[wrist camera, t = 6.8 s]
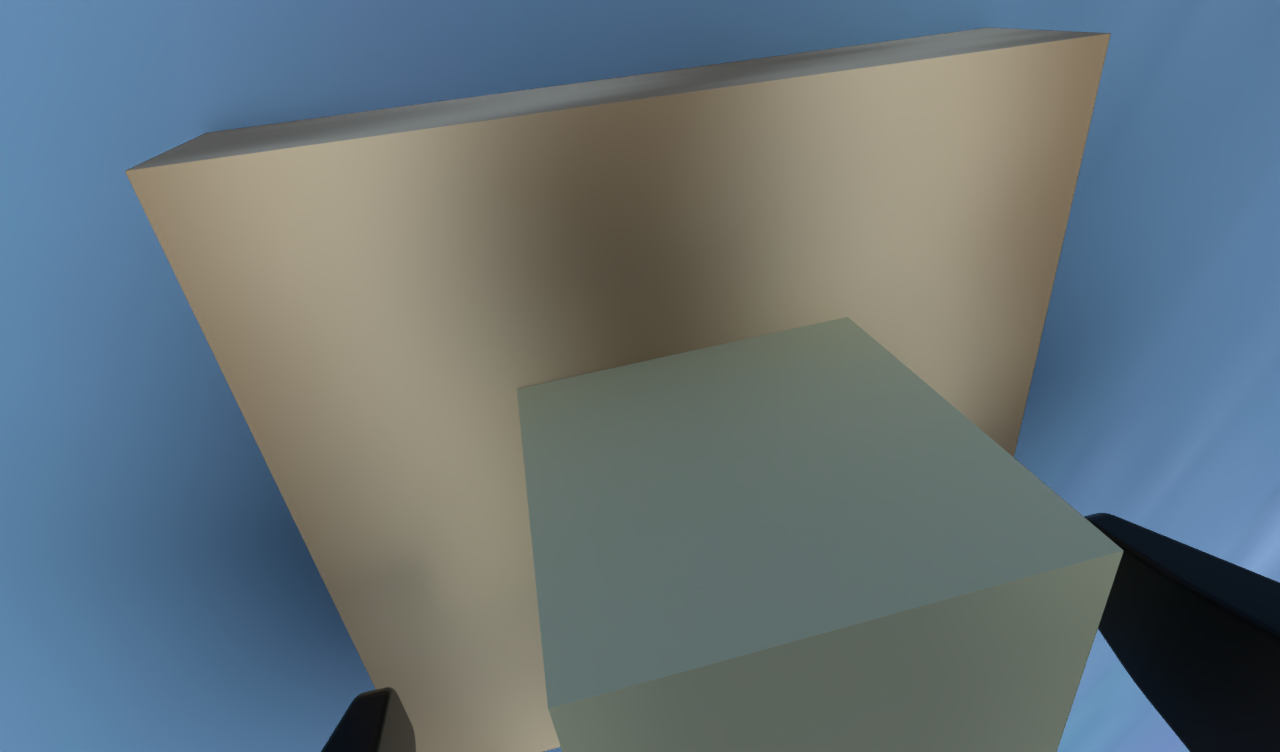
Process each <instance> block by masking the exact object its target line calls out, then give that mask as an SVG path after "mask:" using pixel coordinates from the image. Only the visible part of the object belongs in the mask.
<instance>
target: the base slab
mask: <svg viewBox="0 0 1280 752" xmlns="http://www.w3.org/2000/svg"><path fill="white" fill-rule="evenodd" d="M1110 34H1111V33H1092V32H1071V31H1050V30H1029V29H1008V28H981V29H974V30H966V31H959V32H952V33H944V34H937V35H929V36H922V37H915V38H907V39H900V40H892V41H885V42H877V43H870V44H863V45H855V46H848V47H840V48H833V49H825V50H818V51H811V52H803V53H796V54H788V55H781V56H773V57H766V58H759V59H751V60H744V61H736V62H729V63H721V64H714V65H707V66H699V67H692V68H684V69H677V70H669V71H662V72H655V73H647V74H640V75H632V76H625V77H617V78H610V79H603V80H595V81H588V82H580V83H573V84H565V85H558V86H551V87H543V88H536V89H528V90H521V91H514V92H506V93H499V94H491V95H484V96H476V97H469V98H462V99H454V100H447V101H439V102H432V103H424V104H417V105H410V106H402V107H395V108H387V109H380V110H372V111H365V112H358V113H350V114H343V115H335V116H328V117H320V118H313V119H306V120H298V121H291V122H283V123H276V124H268V125H261V126H254V127H246V128H239V129H231V130H224V131H216V132H209V133H205V134H203V135H200V136H198V137H196V138H194V139H192V140H190V141H188V142H186V143H183V144H181V145H179V146H177V147H175V148H173V149H171V150H169V151H166V152H164V153H162V154H160V155H158V156H156V157H154V158H151V159H149V160H147V161H145V162H143V163H141V164H139V165H137V166H134V167H132V168H130V169H128V170H126V171H125V172H126V174H127V176H128V178H129V180H130V182H131V184H132V187H133V189H134V191H135V193H136V195H137V197H138V199H139V201H140V203H141V205H142V207H143V209H144V211H145V213H146V215H147V218H148V220H149V222H150V224H151V226H152V228H153V230H154V232H155V234H156V236H157V238H158V240H159V242H160V244H161V246H162V249H163V251H164V253H165V255H166V257H167V259H168V261H169V263H170V265H171V267H172V269H173V271H174V273H175V275H176V277H177V280H178V282H179V284H180V286H181V288H182V290H183V292H184V294H185V296H186V298H187V300H188V302H189V304H190V306H191V308H192V311H193V313H194V315H195V317H196V319H197V321H198V323H199V325H200V327H201V329H202V331H203V333H204V335H205V337H206V339H207V342H208V344H209V346H210V348H211V350H212V352H213V354H214V356H215V358H216V360H217V362H218V364H219V366H220V368H221V370H222V373H223V375H224V377H225V379H226V381H227V383H228V385H229V387H230V389H231V391H232V393H233V395H234V397H235V399H236V401H237V403H238V406H239V408H240V410H241V412H242V414H243V416H244V418H245V420H246V422H247V424H248V426H249V428H250V430H251V432H252V434H253V437H254V439H255V441H256V443H257V445H258V447H259V449H260V451H261V453H262V455H263V457H264V459H265V461H266V463H267V465H268V468H269V470H270V472H271V474H272V476H273V478H274V480H275V482H276V484H277V486H278V488H279V490H280V492H281V494H282V496H283V499H284V501H285V503H286V505H287V507H288V509H289V511H290V513H291V515H292V517H293V519H294V521H295V523H296V525H297V527H298V530H299V532H300V534H301V536H302V538H303V540H304V542H305V544H306V546H307V548H308V550H309V552H310V554H311V556H312V558H313V561H314V563H315V565H316V567H317V569H318V571H319V573H320V575H321V577H322V579H323V581H324V583H325V585H326V587H327V589H328V592H329V594H330V596H331V598H332V600H333V602H334V604H335V606H336V608H337V610H338V612H339V614H340V616H341V618H342V620H343V622H344V625H345V627H346V629H347V631H348V633H349V635H350V637H351V639H352V641H353V643H354V645H355V647H356V649H357V651H358V653H359V656H360V658H361V660H362V662H363V664H364V666H365V668H366V670H367V672H368V674H369V676H370V678H371V680H372V682H373V684H374V687H375V689H376V690H377V689H381V688H385V687H391V688H393V689H395V691H396V692H397V694H398V696H399V698H400V700H401V702H402V704H403V706H404V708H405V711H406V713H407V715H408V717H409V719H410V721H411V723H412V726H413V729H414V733H415V741H416V752H543V751H547V750H550V749H554V748H558V747H561V746H560V743H559V740H558V737H557V734H556V731H555V728H554V725H553V722H552V719H551V716H550V713H549V710H548V702H547V692H546V682H545V672H544V661H543V651H542V641H541V631H540V621H539V610H538V600H537V590H536V580H535V570H534V559H533V549H532V539H531V529H530V518H529V508H528V498H527V488H526V478H525V467H524V457H523V447H522V437H521V427H520V416H519V406H518V396H517V389H519V388H523V387H528V386H532V385H537V384H542V383H546V382H551V381H555V380H560V379H564V378H569V377H574V376H578V375H583V374H587V373H592V372H597V371H601V370H606V369H610V368H615V367H620V366H624V365H629V364H633V363H638V362H643V361H647V360H652V359H656V358H661V357H665V356H670V355H675V354H679V353H684V352H688V351H693V350H698V349H702V348H707V347H711V346H716V345H721V344H725V343H730V342H734V341H739V340H743V339H748V338H753V337H757V336H762V335H766V334H771V333H776V332H780V331H785V330H790V329H794V328H799V327H804V326H808V325H813V324H817V323H822V322H827V321H831V320H836V319H841V318H845V317H849V318H850V319H851V320H852V321H853V322H854V323H856V324H857V325H858V326H859V327H860V328H862V329H863V330H864V331H865V332H866V333H867V334H869V335H870V336H871V337H872V338H873V339H875V340H876V341H877V342H878V343H879V344H880V345H882V346H883V347H884V348H885V349H886V350H887V351H889V352H890V353H891V354H892V355H893V356H895V357H896V358H897V359H898V360H899V361H900V362H902V363H903V364H904V365H905V366H906V367H908V368H909V369H910V370H911V371H912V372H913V373H915V374H916V375H917V376H918V377H919V378H921V379H922V380H923V381H924V382H925V383H926V384H928V385H929V386H930V387H931V388H932V389H934V390H935V391H936V392H937V393H938V394H939V395H941V396H942V397H943V398H944V399H945V400H947V401H948V402H949V403H950V404H951V405H952V406H954V407H955V408H956V409H957V410H958V411H959V412H961V413H962V414H963V415H964V416H965V417H967V418H968V419H969V420H970V421H971V422H972V423H974V424H975V425H976V426H977V427H978V428H980V429H981V430H982V431H983V432H984V433H985V434H987V435H988V436H989V437H990V438H991V439H993V440H994V441H995V442H996V443H997V444H998V445H1000V446H1001V447H1002V448H1003V449H1004V450H1006V451H1007V452H1008V453H1009V454H1010V455H1011V456H1013V457H1014V454H1015V450H1016V445H1017V441H1018V437H1019V432H1020V428H1021V424H1022V419H1023V415H1024V410H1025V406H1026V402H1027V397H1028V393H1029V389H1030V384H1031V380H1032V375H1033V371H1034V367H1035V362H1036V358H1037V354H1038V349H1039V345H1040V340H1041V336H1042V332H1043V327H1044V323H1045V319H1046V314H1047V310H1048V305H1049V301H1050V297H1051V292H1052V288H1053V284H1054V279H1055V275H1056V270H1057V266H1058V262H1059V257H1060V253H1061V249H1062V244H1063V240H1064V235H1065V231H1066V227H1067V222H1068V218H1069V214H1070V209H1071V205H1072V200H1073V196H1074V192H1075V187H1076V183H1077V179H1078V174H1079V170H1080V165H1081V161H1082V157H1083V152H1084V148H1085V144H1086V139H1087V135H1088V130H1089V126H1090V122H1091V117H1092V113H1093V109H1094V104H1095V100H1096V95H1097V91H1098V87H1099V82H1100V78H1101V74H1102V69H1103V65H1104V60H1105V56H1106V52H1107V47H1108V43H1109V39H1110Z"/></svg>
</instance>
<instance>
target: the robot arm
mask: <svg viewBox="0 0 1280 752" xmlns="http://www.w3.org/2000/svg"><path fill="white" fill-rule="evenodd" d="M1084 517H1085V518H1086V519H1087V520H1088V521H1089V522H1090V523H1092V524H1093V525H1094V526H1095V527H1096V528H1098V529H1099V530H1100V531H1101V532H1102V533H1103V534H1105V535H1106V536H1107V537H1108V538H1109V539H1111V540H1112V541H1113V542H1114V543H1115V544H1116V545H1118V546H1119V547H1120V548H1121V549H1122V550H1124V551H1123V554H1122V557H1121V560H1120V563H1119V566H1118V569H1117V572H1116V575H1115V578H1114V581H1113V584H1112V587H1111V590H1110V593H1109V596H1108V599H1107V602H1106V605H1105V608H1104V611H1103V614H1102V617H1101V620H1100V623H1099V626H1098V629H1099V631H1100V632H1101V634H1102V635H1103V637H1104V638H1105V640H1106V641H1107V643H1108V644H1109V646H1110V647H1111V649H1112V650H1113V652H1114V653H1115V655H1116V656H1117V658H1118V659H1119V661H1120V662H1121V664H1122V665H1123V666H1124V668H1125V669H1126V671H1127V672H1128V674H1129V675H1130V676H1131V678H1132V679H1133V681H1134V682H1135V683H1136V685H1137V686H1138V687H1139V689H1140V690H1141V691H1142V692H1143V694H1144V695H1145V696H1146V698H1147V699H1148V700H1149V701H1150V703H1151V704H1152V705H1153V706H1154V708H1155V709H1156V710H1157V711H1158V713H1159V714H1160V715H1161V716H1162V718H1163V719H1164V720H1165V721H1166V722H1167V724H1168V725H1169V726H1170V727H1171V729H1172V730H1173V731H1174V732H1175V734H1176V735H1177V736H1178V737H1179V739H1180V740H1181V741H1182V742H1183V744H1184V745H1185V746H1186V747H1187V748H1188V750H1189V751H1190V752H1280V583H1279V582H1277V581H1274V580H1272V579H1269V578H1267V577H1264V576H1262V575H1260V574H1257V573H1255V572H1252V571H1250V570H1247V569H1245V568H1242V567H1240V566H1237V565H1235V564H1232V563H1230V562H1227V561H1225V560H1223V559H1220V558H1218V557H1215V556H1213V555H1210V554H1208V553H1205V552H1203V551H1200V550H1198V549H1195V548H1193V547H1190V546H1188V545H1186V544H1183V543H1181V542H1178V541H1176V540H1173V539H1171V538H1168V537H1166V536H1163V535H1161V534H1158V533H1156V532H1154V531H1151V530H1149V529H1146V528H1144V527H1141V526H1139V525H1136V524H1134V523H1131V522H1129V521H1126V520H1124V519H1121V518H1119V517H1117V516H1114V515H1111V514H1107V513H1097V514H1093V515H1089V516H1084ZM321 752H416V741H415V733H414V729H413V726H412V723H411V721H410V719H409V717H408V715H407V713H406V711H405V708H404V706H403V704H402V702H401V700H400V698H399V696H398V694H397V692H396V691H395V689H393V688H391V687H385V688H381V689H377V690H373V691H369V692H364V693H362V694H359V695H358V696H357V697H356V698H355V699H354V700H353V701H352V703H351V704H350V706H349V707H348V709H347V711H346V712H345V714H344V716H343V717H342V719H341V720H340V722H339V724H338V725H337V727H336V728H335V730H334V732H333V733H332V735H331V736H330V738H329V740H328V741H327V743H326V745H325V746H324V748H323V749H322V751H321Z"/></svg>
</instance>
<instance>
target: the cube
mask: <svg viewBox="0 0 1280 752" xmlns="http://www.w3.org/2000/svg"><path fill="white" fill-rule="evenodd" d="M517 396H518V406H519V416H520V427H521V437H522V447H523V457H524V467H525V478H526V488H527V498H528V508H529V518H530V529H531V539H532V549H533V559H534V570H535V580H536V590H537V600H538V610H539V621H540V631H541V641H542V651H543V661H544V672H545V682H546V692H547V702H548V710H549V713H550V716H551V719H552V722H553V725H554V728H555V731H556V734H557V737H558V740H559V743H560V746H561V749H562V752H1057V749H1058V746H1059V743H1060V740H1061V737H1062V734H1063V731H1064V728H1065V725H1066V722H1067V719H1068V716H1069V713H1070V710H1071V707H1072V704H1073V701H1074V698H1075V695H1076V692H1077V689H1078V686H1079V683H1080V680H1081V677H1082V674H1083V671H1084V668H1085V665H1086V662H1087V659H1088V656H1089V653H1090V650H1091V647H1092V644H1093V641H1094V638H1095V635H1096V632H1097V629H1098V626H1099V623H1100V620H1101V617H1102V614H1103V611H1104V608H1105V605H1106V602H1107V599H1108V596H1109V593H1110V590H1111V587H1112V584H1113V581H1114V578H1115V575H1116V572H1117V569H1118V566H1119V563H1120V560H1121V557H1122V554H1123V551H1124V550H1122V549H1121V548H1120V547H1119V546H1118V545H1116V544H1115V543H1114V542H1113V541H1112V540H1111V539H1109V538H1108V537H1107V536H1106V535H1105V534H1103V533H1102V532H1101V531H1100V530H1099V529H1098V528H1096V527H1095V526H1094V525H1093V524H1092V523H1090V522H1089V521H1088V520H1087V519H1086V518H1085V517H1083V516H1082V515H1081V514H1080V513H1079V512H1078V511H1076V510H1075V509H1074V508H1073V507H1072V506H1070V505H1069V504H1068V503H1067V502H1066V501H1065V500H1063V499H1062V498H1061V497H1060V496H1059V495H1057V494H1056V493H1055V492H1054V491H1053V490H1052V489H1050V488H1049V487H1048V486H1047V485H1046V484H1044V483H1043V482H1042V481H1041V480H1040V479H1039V478H1037V477H1036V476H1035V475H1034V474H1033V473H1031V472H1030V471H1029V470H1028V469H1027V468H1026V467H1024V466H1023V465H1022V464H1021V463H1020V462H1018V461H1017V460H1016V459H1015V458H1014V457H1013V456H1011V455H1010V454H1009V453H1008V452H1007V451H1006V450H1004V449H1003V448H1002V447H1001V446H1000V445H998V444H997V443H996V442H995V441H994V440H993V439H991V438H990V437H989V436H988V435H987V434H985V433H984V432H983V431H982V430H981V429H980V428H978V427H977V426H976V425H975V424H974V423H972V422H971V421H970V420H969V419H968V418H967V417H965V416H964V415H963V414H962V413H961V412H959V411H958V410H957V409H956V408H955V407H954V406H952V405H951V404H950V403H949V402H948V401H947V400H945V399H944V398H943V397H942V396H941V395H939V394H938V393H937V392H936V391H935V390H934V389H932V388H931V387H930V386H929V385H928V384H926V383H925V382H924V381H923V380H922V379H921V378H919V377H918V376H917V375H916V374H915V373H913V372H912V371H911V370H910V369H909V368H908V367H906V366H905V365H904V364H903V363H902V362H900V361H899V360H898V359H897V358H896V357H895V356H893V355H892V354H891V353H890V352H889V351H887V350H886V349H885V348H884V347H883V346H882V345H880V344H879V343H878V342H877V341H876V340H875V339H873V338H872V337H871V336H870V335H869V334H867V333H866V332H865V331H864V330H863V329H862V328H860V327H859V326H858V325H857V324H856V323H854V322H853V321H852V320H851V319H850V318H849V317H845V318H841V319H836V320H831V321H827V322H822V323H817V324H813V325H808V326H804V327H799V328H794V329H790V330H785V331H780V332H776V333H771V334H766V335H762V336H757V337H753V338H748V339H743V340H739V341H734V342H730V343H725V344H721V345H716V346H711V347H707V348H702V349H698V350H693V351H688V352H684V353H679V354H675V355H670V356H665V357H661V358H656V359H652V360H647V361H643V362H638V363H633V364H629V365H624V366H620V367H615V368H610V369H606V370H601V371H597V372H592V373H587V374H583V375H578V376H574V377H569V378H564V379H560V380H555V381H551V382H546V383H542V384H537V385H532V386H528V387H523V388H519V389H517Z"/></svg>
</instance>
